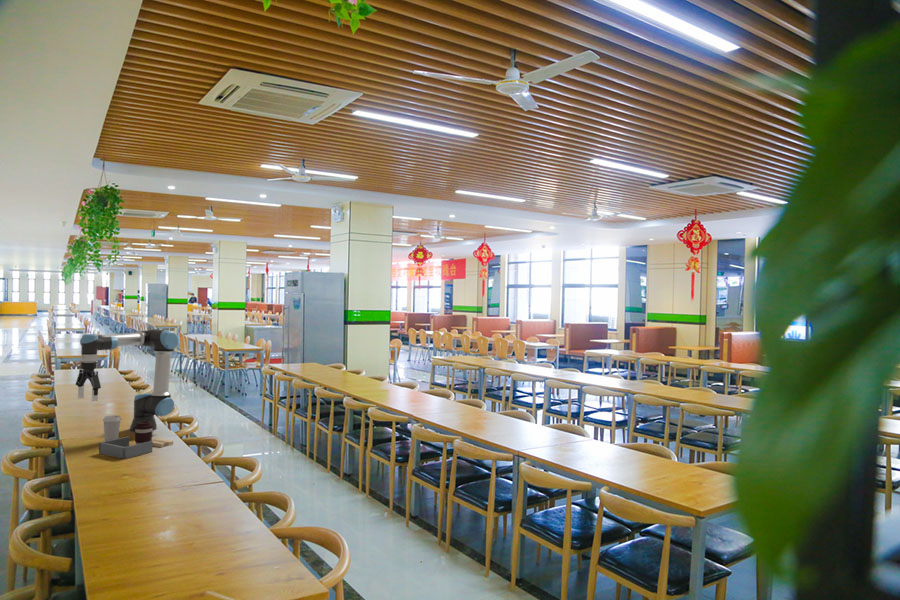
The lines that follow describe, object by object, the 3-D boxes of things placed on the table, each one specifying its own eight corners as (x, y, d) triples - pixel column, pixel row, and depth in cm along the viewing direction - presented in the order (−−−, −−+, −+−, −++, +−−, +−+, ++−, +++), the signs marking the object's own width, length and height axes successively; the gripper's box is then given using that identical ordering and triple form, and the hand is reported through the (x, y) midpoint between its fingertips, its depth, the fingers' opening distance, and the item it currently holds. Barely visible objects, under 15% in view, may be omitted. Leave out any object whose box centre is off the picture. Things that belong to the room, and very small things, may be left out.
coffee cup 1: (114, 444, 333) (115, 418, 333) (98, 443, 333) (99, 417, 333) (124, 440, 342) (125, 415, 342) (108, 439, 342) (109, 414, 342)
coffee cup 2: (156, 447, 331) (157, 420, 331) (145, 451, 321) (146, 424, 321) (140, 445, 332) (141, 419, 332) (129, 450, 322) (130, 423, 322)
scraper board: (158, 442, 342) (158, 438, 342) (173, 445, 338) (173, 441, 338) (146, 445, 335) (146, 441, 335) (161, 448, 330) (161, 443, 330)
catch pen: (127, 446, 329) (128, 436, 329) (152, 451, 320) (152, 441, 320) (99, 453, 313) (99, 442, 313) (123, 459, 305) (124, 447, 305)
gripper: (69, 360, 325) (68, 397, 325) (95, 364, 313) (93, 403, 313) (83, 359, 331) (81, 396, 331) (108, 363, 319) (107, 401, 319)
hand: (87, 399), depth 322 cm, fingers open, 13 cm apart
